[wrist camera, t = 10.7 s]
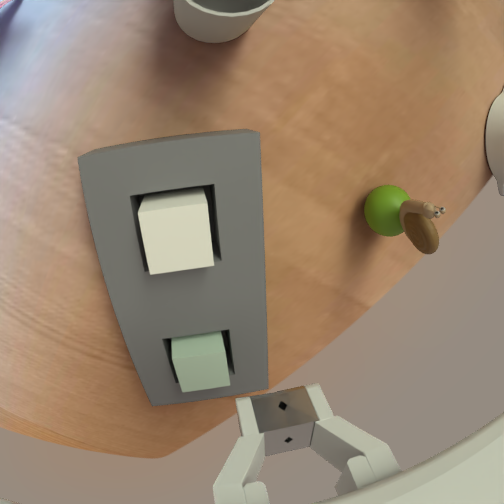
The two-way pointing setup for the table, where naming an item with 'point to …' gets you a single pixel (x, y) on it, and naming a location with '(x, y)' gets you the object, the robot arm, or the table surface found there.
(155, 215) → the white key
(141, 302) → the key console
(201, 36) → the cup
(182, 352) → the pale green cube
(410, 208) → the snail figurine
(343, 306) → the table surface
